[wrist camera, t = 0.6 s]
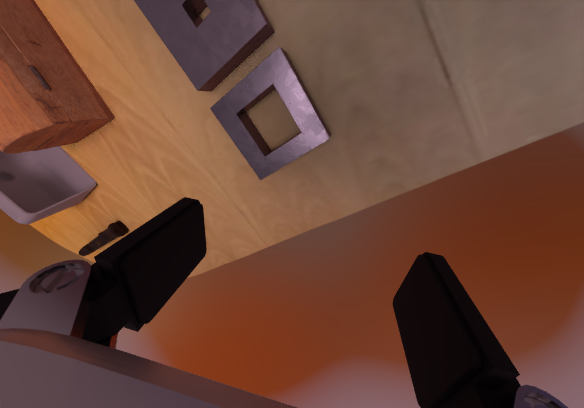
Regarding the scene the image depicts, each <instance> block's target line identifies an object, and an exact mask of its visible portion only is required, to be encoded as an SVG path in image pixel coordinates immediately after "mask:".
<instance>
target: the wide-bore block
mask: <svg viewBox="0 0 584 408" xmlns="http://www.w3.org/2000/svg"><path fill="white" fill-rule="evenodd" d="M275 88H276V89H277V91H278V93H279V95H280V96H281V98H282V100H283V101H284V103H285V105H286V106H287V108H288V110H289V112H290V113H291V115H292V117H293V118H294V120H295V122H296V123H297V125H298V127H299V129H300V130H301V132H300V133H299V134H297V135H296V136H294V137H293V138H291V139H290V140H288V141H287V142H285V143H284V144H282V145H281V146H279V147H278V148H276V149H274V150H273V151H271V150H270V148H269V147H268V145H267V144H266V142H265V141H264V139H263V138H262V136H261V135H260V133H259V132H258V130H257V129H256V127H255V125H254V124H253V122H252V121H251V119H250V118H249V116H248V115H247V113H246V111H248V110H249V109H250V108H251V107H253V106H254V105H255V104H256V103H258V102H259V101H260V100H261V99H263V98H264V97H265V96H266V95H268V94H269V93H270V92H271V91H273V90H274V89H275ZM210 109H211V110H212V112H213V113H214V115H215V116H216V118H217V119H218V120H219V122H220V123H221V125H222V126H223V127H224V129H225V130H226V132H227V133H228V135H229V136H230V137H231V139H232V140H233V142H234V143H235V145H236V146H237V147H238V149H239V150H240V152H241V153H242V154H243V156H244V157H245V159H246V160H247V162H248V163H249V164H250V166H251V167H252V169H253V170H254V172H255V173H256V174H257V176H258V177H259V179H260V180H262V179H263V178H265V177H267V176H268V175H270V174H272V173H273V172H275V171H277V170H278V169H280V168H282V167H283V166H285V165H287V164H288V163H290V162H292V161H293V160H295V159H297V158H298V157H300V156H302V155H303V154H305V153H307V152H308V151H310V150H312V149H313V148H315V147H317V146H318V145H320V144H322V143H323V142H325V141H327V140H328V139H330V136H331V134H330V132H329V130H328V129H327V127H326V125H325V123H324V121H323V119H322V117H321V116H320V114H319V112H318V110H317V108H316V106H315V105H314V103H313V101H312V99H311V97H310V95H309V94H308V92H307V90H306V88H305V86H304V84H303V83H302V81H301V79H300V77H299V75H298V73H297V72H296V70H295V68H294V66H293V64H292V62H291V61H290V59H289V57H288V55H287V53H286V52H285V51H284V50H283V49H282V48H280V47H278V48H277V49H276V50H275V51H274V52H273V53H272V54H271V55H269V56H268V57H267V58H266V59H265V60H264V61H263V62H262V63H261V64H259V65H258V66H257V67H256V68H255V69H254V70H253V71H252V72H250V73H249V74H248V75H247V76H246V77H245V78H244V79H243V80H241V81H240V82H239V83H238V84H237V85H236V86H235V87H234V88H232V89H231V90H230V91H229V92H228V93H227V94H226V95H225V96H223V97H222V98H221V99H220V100H219V101H218V102H217V103H216V104H214V105H213V106H212V107H211V108H210Z"/></svg>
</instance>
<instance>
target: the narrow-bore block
mask: <svg viewBox="0 0 584 408" xmlns="http://www.w3.org/2000/svg"><path fill="white" fill-rule="evenodd" d="M134 1H135V2H136V4H137V5H138V7H139V8H140V10H141V11H142V12H143V14H144V15H145V17H146V18H147V19H148V21H149V22H150V24H151V25H152V27H153V28H154V29H155V31H156V32H157V34H158V35H159V37H160V38H161V39H162V41H163V42H164V44H165V45H166V46H167V48H168V49H169V51H170V52H171V54H172V55H173V56H174V58H175V59H176V61H177V62H178V64H179V65H180V66H181V68H182V69H183V71H184V72H185V73H186V75H187V76H188V78H189V79H190V81H191V82H192V83H193V85H194V86H195V88H196V89H197V91H212V90H213V89H214V88H215V87H216V86H217V85H218V84H219V83H221V82H222V81H223V80H224V79H225V78H226V77H227V76H228V75H229V74H230V73H231V72H232V71H233V70H234V69H235V68H237V67H238V66H239V65H240V64H241V63H242V62H243V61H244V60H245V59H246V58H247V57H248V56H249V55H250V54H251V53H253V52H254V51H255V50H256V49H257V48H258V47H259V46H260V45H261V44H262V43H263V42H264V41H265V40H266V39H268V38H269V37H270V36H271V35H272V34H273V33H274V32H275V31H274V29H273V27H272V26H271V24H270V22H269V20H268V18H267V16H266V15H265V13H264V11H263V9H262V7H261V5H260V4H259V2H258V0H134ZM206 6H208V7H209V9H210V11H211V12H210V13H209V14H208V16H207V17H206V18H205V19H204V20H203V21H202V19H201V18H200V16H199V15H200V13H201V12H202V11H203V10H204V9H205V7H206Z"/></svg>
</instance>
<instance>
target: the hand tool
mask: <svg viewBox="0 0 584 408" xmlns="http://www.w3.org/2000/svg"><path fill="white" fill-rule="evenodd" d="M126 233H128V228H127V227H126V226H125V225H124V224H123V223H122V222H115V223H112V224H110V225H109V226H108V229H106V230H105V231H103V232H101V233H99V234H98V235H99V236H98V237H96V238H95V239H94V240H93V241H91V242H90V243H88V244H87V245H85V246H84V247H83V248H81V250H80V251H79V255H81V256H86V255H89V254H90V253H92V252H94V251H96V250H97V249H99V248H100V247H102V246H104V245H105V244H107V243H109V242H110V241H112V240H114V239H115V238H117V237H120V236H123V235H125V234H126Z"/></svg>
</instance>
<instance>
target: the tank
mask: <svg viewBox="0 0 584 408" xmlns="http://www.w3.org/2000/svg"><path fill="white" fill-rule="evenodd" d="M95 186H96V181H95V180H94V179H93V178H92V177H91V176H90V175H89V174H88V173H87V172H86V171H85V170H84V169H83V168H82V167H81V166H80V165H79V164H78V163H77V162H76V161H75V160H74V159H73V158H72V157H71V156H70V155H69V154H68V153H67V152H66V151H65V150H64V149H63V148H62V147H60V146H57V147H52V148H48V149H43V150H38V151H28V152H22V153H16V154H7V153H4V152H2V151H1V150H0V209H2V210H3V211H4V212H5V213H6V214H8V215H9V216H10V217H11V218H13V219H14V220H15V221H16V222H18V223H21V224H30V223H33V222H35V221H38V220H40V219H43V218H45V217H48V216H50V215H52V214H55V213H57V212H60V211H62V210H64V209H67V208H69V207H72V206H74V205H77V204H79V203H80V202H81V201H82V200H83V199H84V198H85V197H86V196H87V195H88V194H89V193H90V191H91V190H92V189H93V188H94V187H95Z"/></svg>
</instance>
